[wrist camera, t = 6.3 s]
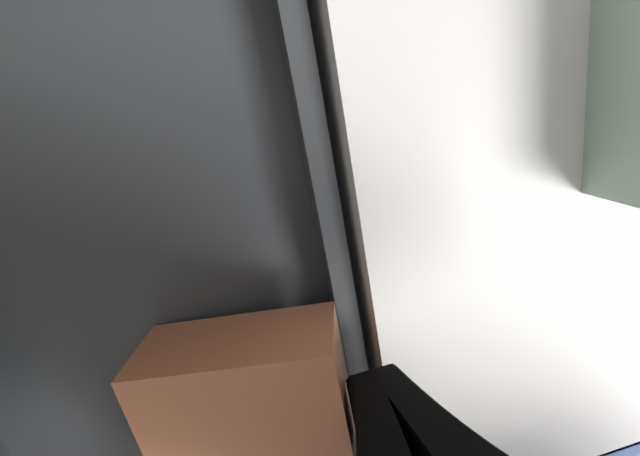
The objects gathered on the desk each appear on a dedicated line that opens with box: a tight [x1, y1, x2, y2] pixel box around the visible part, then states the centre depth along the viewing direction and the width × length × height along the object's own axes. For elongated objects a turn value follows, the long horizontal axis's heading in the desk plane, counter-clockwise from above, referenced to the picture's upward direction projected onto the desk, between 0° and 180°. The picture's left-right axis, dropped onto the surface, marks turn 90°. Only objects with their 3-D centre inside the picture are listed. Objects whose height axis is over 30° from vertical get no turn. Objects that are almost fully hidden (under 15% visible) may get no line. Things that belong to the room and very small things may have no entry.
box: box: [0, 0, 369, 456], centre depth 9 cm, size 18×11×4 cm, turn 10°
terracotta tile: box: [110, 301, 356, 456], centre depth 10 cm, size 5×5×2 cm
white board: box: [307, 0, 640, 456], centre depth 12 cm, size 18×16×2 cm
